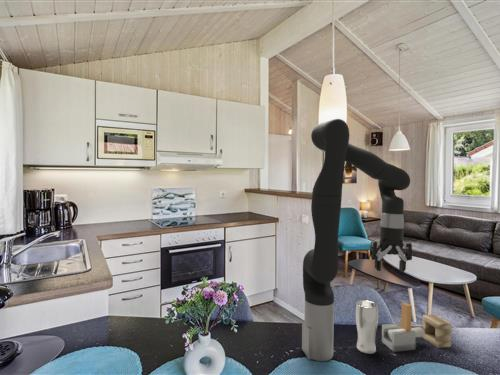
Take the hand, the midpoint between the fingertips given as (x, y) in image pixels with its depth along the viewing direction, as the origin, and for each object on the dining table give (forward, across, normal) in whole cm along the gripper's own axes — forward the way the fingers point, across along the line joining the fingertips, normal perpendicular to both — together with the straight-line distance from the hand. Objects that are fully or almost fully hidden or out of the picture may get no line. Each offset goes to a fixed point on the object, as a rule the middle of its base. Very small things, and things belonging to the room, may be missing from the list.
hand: (390, 271), depth 104 cm
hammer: (+22, +4, -5) cm, 22 cm away
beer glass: (+25, -11, -7) cm, 28 cm away
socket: (+24, +16, -3) cm, 29 cm away
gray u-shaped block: (+24, +1, -5) cm, 25 cm away
